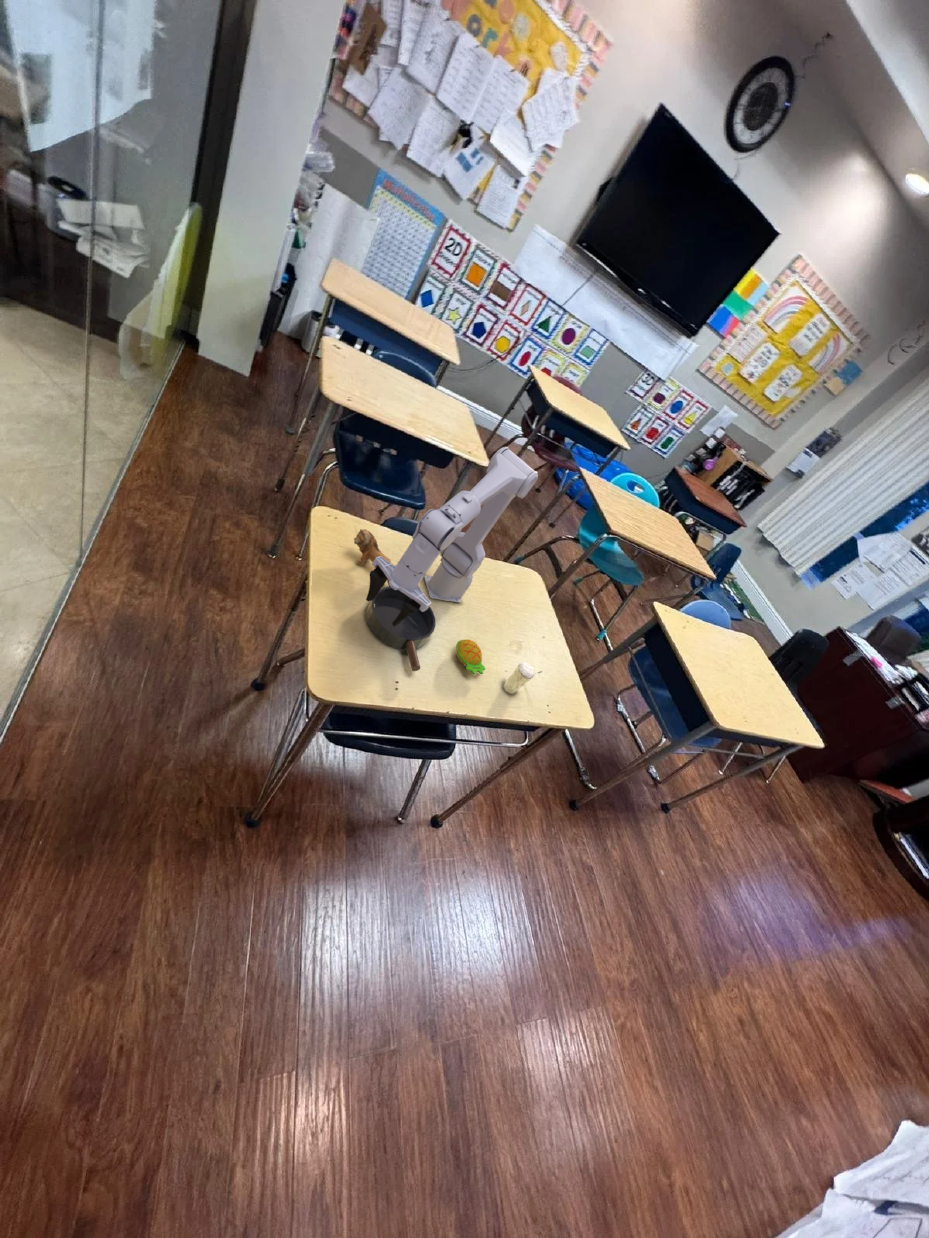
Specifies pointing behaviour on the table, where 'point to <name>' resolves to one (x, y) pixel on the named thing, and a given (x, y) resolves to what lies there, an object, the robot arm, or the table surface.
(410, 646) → the pan handle
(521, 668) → the milkshake
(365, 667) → the table surface
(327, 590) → the table surface
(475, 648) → the toy pineapple
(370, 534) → the lion figurine
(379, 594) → the pan
